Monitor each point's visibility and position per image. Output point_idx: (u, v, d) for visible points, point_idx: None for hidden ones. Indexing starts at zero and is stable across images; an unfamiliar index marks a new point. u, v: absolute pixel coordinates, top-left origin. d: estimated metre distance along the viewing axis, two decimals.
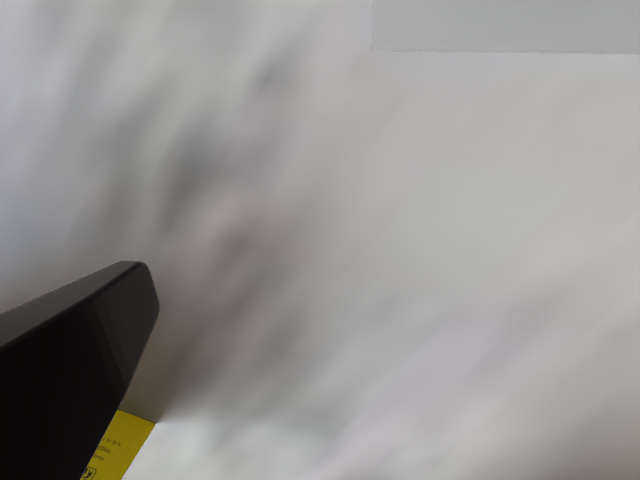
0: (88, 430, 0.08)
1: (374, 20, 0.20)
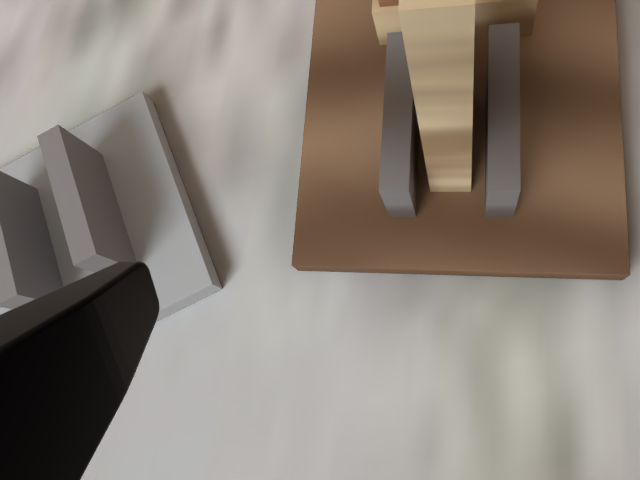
0: (88, 430, 0.08)
1: None
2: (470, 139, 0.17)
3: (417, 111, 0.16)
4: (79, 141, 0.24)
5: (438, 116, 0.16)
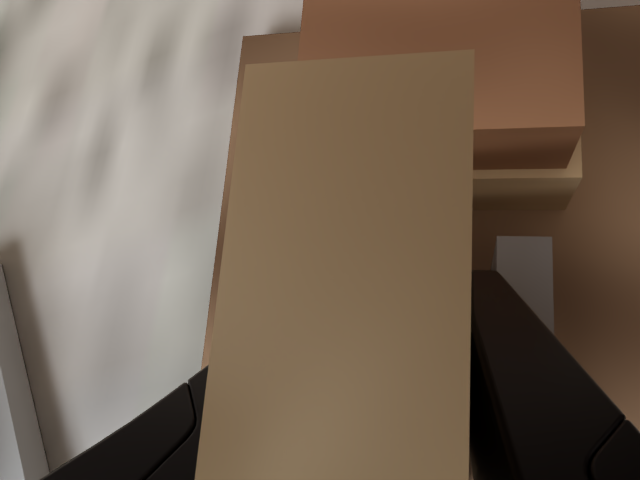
0: None
1: None
2: None
3: None
4: None
5: None
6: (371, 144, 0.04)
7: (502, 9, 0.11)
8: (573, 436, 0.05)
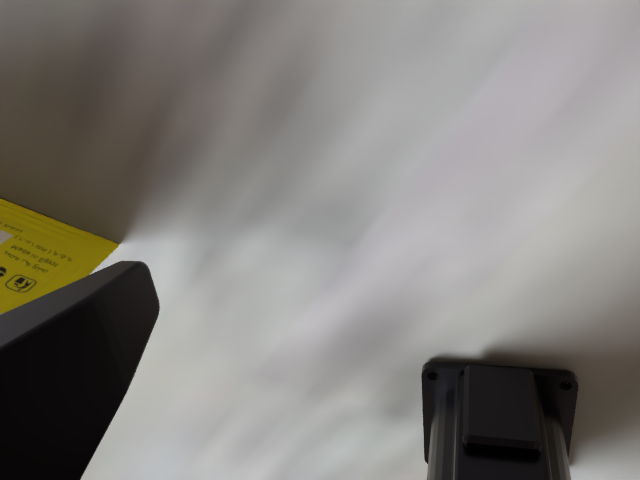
0: (88, 430, 0.08)
1: None
2: None
3: None
4: None
5: None
6: None
7: None
8: None
